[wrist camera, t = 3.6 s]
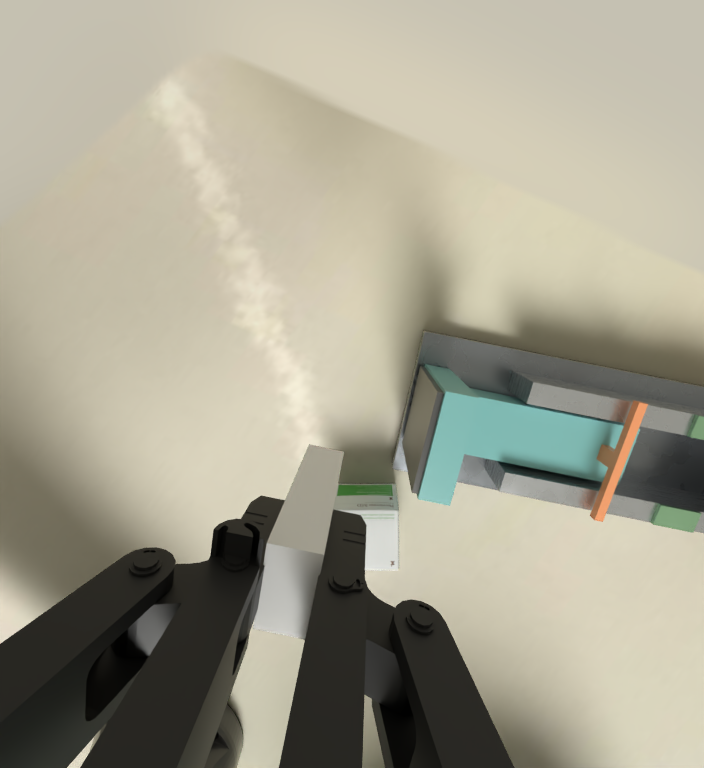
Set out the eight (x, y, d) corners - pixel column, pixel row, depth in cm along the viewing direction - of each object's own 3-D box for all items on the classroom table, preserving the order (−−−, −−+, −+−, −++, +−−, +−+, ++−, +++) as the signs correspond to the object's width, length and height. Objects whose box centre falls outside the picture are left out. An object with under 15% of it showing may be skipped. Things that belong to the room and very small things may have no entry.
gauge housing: (391, 463, 35) (396, 505, 28) (423, 330, 32) (437, 340, 25) (694, 524, 34) (773, 582, 28) (752, 396, 32) (856, 424, 25)
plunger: (398, 454, 33) (408, 512, 24) (423, 350, 31) (443, 373, 22) (589, 492, 33) (667, 564, 24) (626, 391, 31) (727, 430, 22)
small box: (396, 481, 35) (400, 510, 30) (396, 537, 36) (399, 574, 32) (333, 480, 35) (327, 510, 31) (335, 536, 37) (329, 573, 32)
